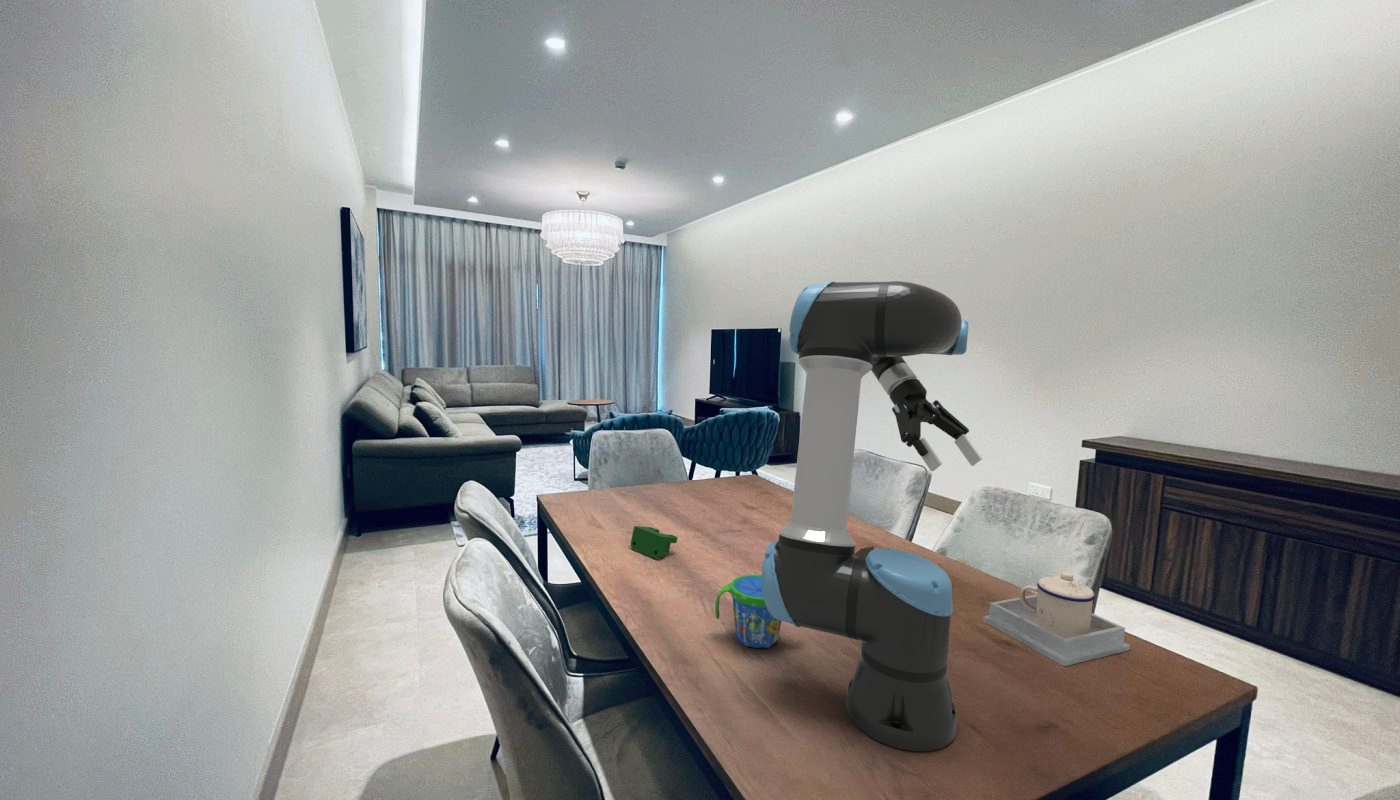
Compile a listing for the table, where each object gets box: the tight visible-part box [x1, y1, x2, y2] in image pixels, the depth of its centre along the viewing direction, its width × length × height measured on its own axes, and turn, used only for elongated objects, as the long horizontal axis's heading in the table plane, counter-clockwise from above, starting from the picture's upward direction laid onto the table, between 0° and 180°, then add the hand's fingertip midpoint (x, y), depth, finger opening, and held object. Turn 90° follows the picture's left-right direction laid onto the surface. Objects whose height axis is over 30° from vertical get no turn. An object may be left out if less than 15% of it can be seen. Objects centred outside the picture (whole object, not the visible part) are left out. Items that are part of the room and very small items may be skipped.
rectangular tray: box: [982, 593, 1131, 667], centre depth 108 cm, size 17×17×4 cm
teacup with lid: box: [1019, 571, 1096, 639], centre depth 108 cm, size 12×9×12 cm
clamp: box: [630, 525, 679, 559], centre depth 145 cm, size 12×6×9 cm, turn 39°
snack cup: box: [714, 574, 782, 649], centre depth 103 cm, size 16×10×10 cm
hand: (957, 465), depth 119 cm, fingers open, 13 cm apart
